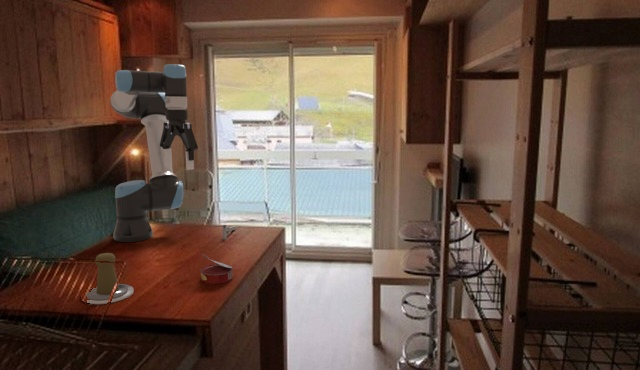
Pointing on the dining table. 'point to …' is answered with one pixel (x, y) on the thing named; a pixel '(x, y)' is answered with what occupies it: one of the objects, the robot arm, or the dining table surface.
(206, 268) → the canned food
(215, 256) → the dining table surface
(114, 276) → the cork
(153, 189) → the robot arm
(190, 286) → the dining table surface
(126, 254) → the dining table surface
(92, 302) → the seat plate
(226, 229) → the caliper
